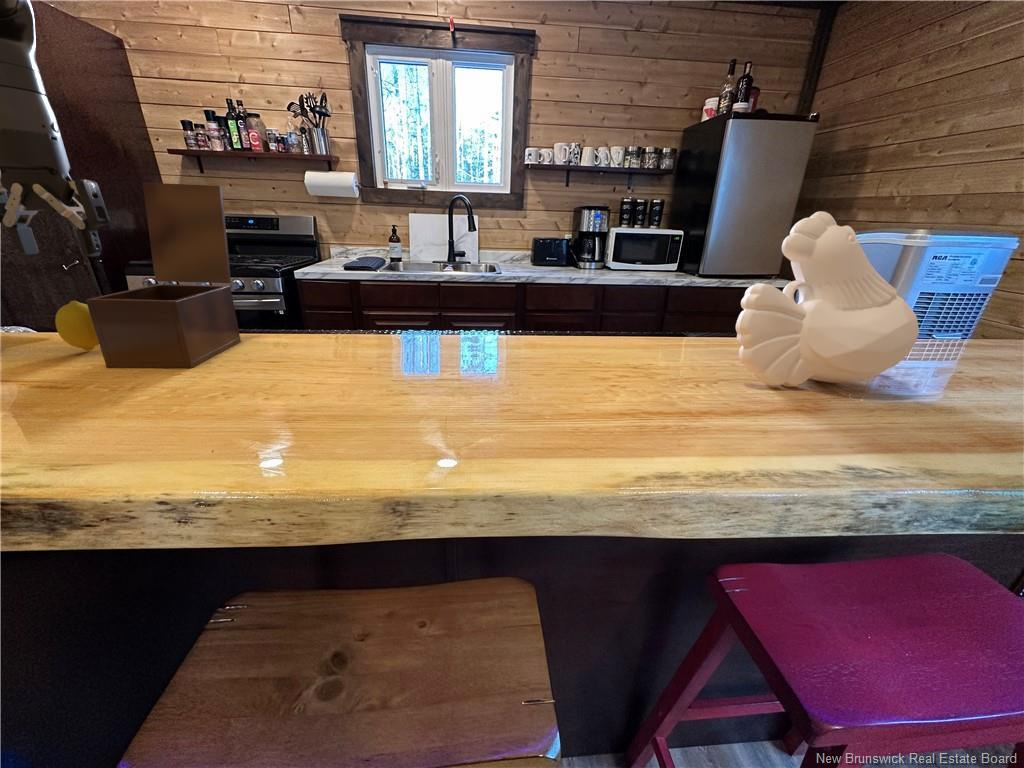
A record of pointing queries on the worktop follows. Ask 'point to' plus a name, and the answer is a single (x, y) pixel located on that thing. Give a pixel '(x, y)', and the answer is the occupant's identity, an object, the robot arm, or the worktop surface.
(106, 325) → the chest
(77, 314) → the lemon
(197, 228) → the lid
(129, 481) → the worktop surface
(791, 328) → the decorative rooster
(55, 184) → the robot arm
